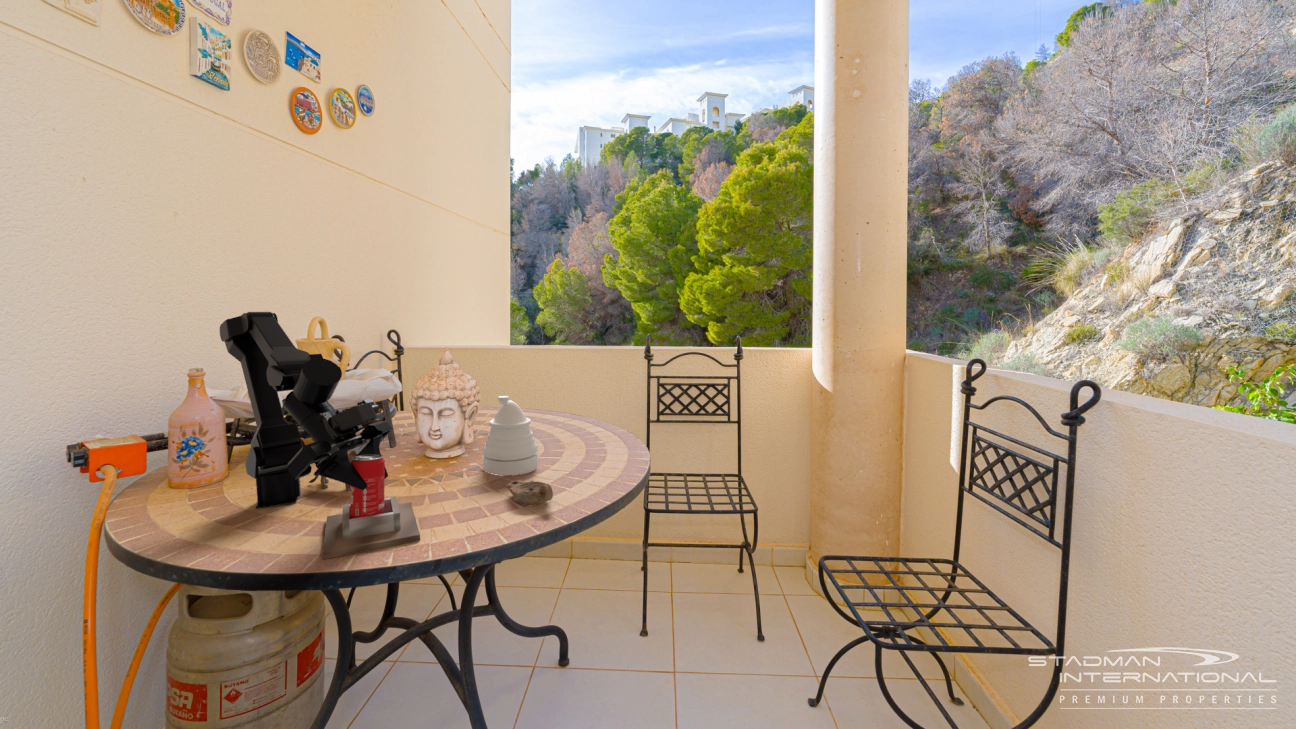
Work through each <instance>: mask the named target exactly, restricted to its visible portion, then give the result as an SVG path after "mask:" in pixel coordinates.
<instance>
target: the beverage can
mask: <svg viewBox="0 0 1296 729" xmlns="http://www.w3.org/2000/svg"><path fill="white" fill-rule="evenodd" d="M352 459H353V460H352V462H351V464H352V465H353V466H354V468H355V469H356V470H357V471H358V473H359V474H360V476H361V477H362V478H363V480H364V481H365V482H366V484H367V487H366V488H365V489H364V490H361V489H358V488H356V487H353V486H351V491H350V499H349V500H350V501H349V502H350V503H349V504H350V519H354V518H360V517H366V516H372V515H378V514H384V498H385V479H384V478H385V468H386V465H385V464H386V461H385V459H384V455H383V454H381V455H378V454H368V455H360V456H355V457H353V458H352Z"/></svg>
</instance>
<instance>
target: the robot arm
mask: <svg viewBox="0 0 1296 729" xmlns="http://www.w3.org/2000/svg"><path fill="white" fill-rule="evenodd" d="M219 336H220V340H221V342H223V343H224V344H225V348H226V350H227V353H228V354H229V355H231V356H232V357H233V358H234V359H236V360H237V361H239V363H240V364H241V369H242V373H243V377H244V381H245V385H246V389H247V392H248V398H249V401H250V405H251V409H252V413H253V416H254V420H255V425H256V430H255V433H254V435H253V437H252V438H251V441H250V449H249V451H248V455H247V457H246V460H245V464H244V465H245V470H246V474H247V475H248V476H250V477H251V478H252V479H255V486H256V498H257V502H256V505H255V508H256V509H262V508H269V507H273V506H275V507H276V506H282V505H288V504H289V505H291V504H294V503H297V501H298V498H299V497H300V496H301V493H302V492H301V490H302V489H301V478H303V477H306V476H309V475H310V474H311V473H312V469H313V468H312V464H314V465H315V467H316V468H317V469H316V470H315V471H314V472H313V475H314V477H316V476H318V475H319V476H320V477H321V476H324V477H326V479H330V480H335V481H337V482H340V483H343V484H348V485H350V486H353V487H356V488H358V489H361V490H364V489H365V488H366V487H367V484H366V482H365V481H364V480H363V478H362V477H361V476H360V474H359V473H358V471H357V470H356V469H355V468H354V466H353V465H352V464H351V463H350V462H349V460H348V453H349V452H348V451H350V450H351V451H353V450H354V451H355V452H356V453H357V455H356V456H360V455H368V454H378V455H382V453H381V450H380V444H381V442H383V441H384V440H385V439H386V437H387V436H388V435H389V434H390V433H391V432H392V431H393V430H394V429H393V427H392V426H391V425H390V424H389V423H388V421H385V420H384V421H382V420H378V421H376V422H373V423H369V424H367V426H365V427H363V425H364V424H365V423H367V422H370V421H375V420H377V419H378V416H377V415H378V414H379V413H380V406H379V405H378V404H377V402H375V401H374V400H372V398H370V397H369V398H365V399H362V401H358V402H357V403H356V405H355V406H351V407H349V408H346V409H344V408H342V407H340V408H337V409H336V408H335V407H334V406H333V404H331V403H330V401H329V400H330V399H331V398H332V397H333V394H334V393H335V390H336V388H337V387H338V385H339V384H340V383H339V382H340V381H341V379H342V377H343V371H342V367H340V366H339V365H338V364H337V363H335V362H334V361H332V360H330V359H328V358H327V359H326V358H323V355H322V353H309V352H308V351H305V350H302V349H299V348H297V347H296V346H295V345H294V344H293V342H292V340H291V339H290V337H289V336H288V335H287V333H286V332H285V330H284V329H283V327H282V326H281V325H280V323H279V320H278V316H277V314H276V313H275V312H271V311H247V312H244V313H242V314H241V315H239V316H235V317H231V318H227V319H226V320H224V321H223V322H222V323H221V324H220V325H219ZM287 391H290V392H289V393H288V394H287V395H286V397H285V398H284V399H282V400H280V398H279V397H280V396H279V393H278V392H287ZM281 403H282V405H281ZM288 414H289V415H290V416H291V417H292V419H294V421H295V422H296V423H297V424H298V425H299V426H300V428H301V429H303V432H302V433H301V434H300V432H299V426H298V425H297V424H296V423H294V422H292V423H290V422H288V421H287V420H286V419H285V416H286V415H288ZM363 428H364V429H363ZM362 429H363V430H362ZM360 431H361V432H360ZM358 432H360V433H359V434H358V435H357V433H358ZM301 437H302V438H301ZM306 439H311V440H312V441H313V442H311V443H308V444H305V442H304V440H306ZM319 476H318V477H319ZM388 477H389V473H388V470H387V467H385V478H384V480H386V479H387V478H388Z"/></svg>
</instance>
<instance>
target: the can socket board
mask: <svg viewBox="0 0 1296 729" xmlns="http://www.w3.org/2000/svg"><path fill="white" fill-rule="evenodd" d="M324 530H325V531H324V538H323V539H324V540H323V548H322V560H328V559H333V558H338V557H342V556H343V557H344V556H347V555H353V554H356V553H357V554H358V553H362V552H367V551H372V550H379V549H382V548H386V547H387V548H389V547H392V546H398V545H403V544H409V543H412V542H418V541H421V534H420V530H419V527H418V523H417V520H416V515H415V513H414V509H413V505H412V502H407V503H401V504H399V503H398V499H397V496H391V497H384V514H378V515H372V516H366V517H360V518H354V519H350V503H347V504H342V512H341V513H340V514H334V515H332V514H331V515H327V516H326V521H325V529H324Z"/></svg>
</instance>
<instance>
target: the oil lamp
mask: <svg viewBox="0 0 1296 729" xmlns="http://www.w3.org/2000/svg"><path fill="white" fill-rule="evenodd" d="M506 488H507V490H508V491H509V492H510V493H511V494H512V496H513V499H514V500H515V502H516V503H517V504H520V505H524V506H528V505H529V506H530V505H531V506H537V505H539V504H541V503H544V502H550V501H551V500H553V497H554V492H553V489H552V486H551V485H550V484H549V483H546V482H541V481H534V480H530V481H525V482H524V481H522V479H521V480H514V481H510V482H509V483H508V484H506Z"/></svg>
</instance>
